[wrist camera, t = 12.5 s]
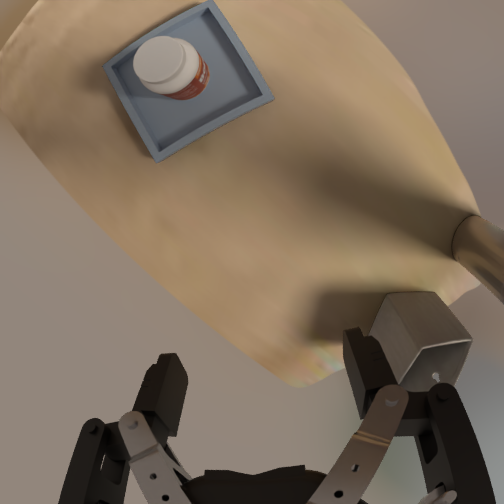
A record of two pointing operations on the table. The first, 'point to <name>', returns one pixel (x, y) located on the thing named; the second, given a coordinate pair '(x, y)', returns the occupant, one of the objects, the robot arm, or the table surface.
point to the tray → (206, 103)
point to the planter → (421, 339)
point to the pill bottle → (171, 68)
